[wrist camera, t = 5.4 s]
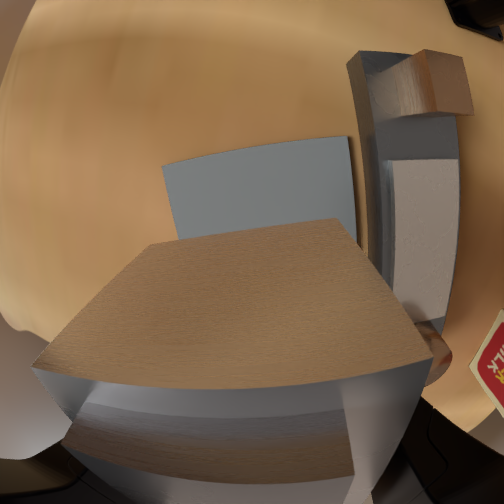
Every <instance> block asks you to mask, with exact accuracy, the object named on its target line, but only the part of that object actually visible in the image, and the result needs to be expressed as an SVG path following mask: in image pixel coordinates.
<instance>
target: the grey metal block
mask: <svg viewBox="0 0 504 504" xmlns="http://www.w3.org/2000/svg"><path fill="white" fill-rule="evenodd" d="M433 359H434V356H433V354H432V352H431V351H430V349H429V347H428V346H427V344H426V343H425V341H424V339H423V338H422V336H421V334H420V333H419V331H418V330H417V328H416V326H415V325H414V323H413V322H412V320H411V319H410V317H409V316H408V314H407V313H406V311H405V310H404V308H403V307H402V305H401V304H400V302H399V301H398V299H397V298H396V296H395V295H394V293H393V292H392V290H391V289H390V288H389V286H388V285H387V283H386V282H385V281H384V279H383V278H382V276H381V275H380V274H379V272H378V271H377V269H376V268H375V267H374V265H373V264H372V263H371V261H370V260H369V259H368V257H367V256H366V255H365V253H364V252H363V251H362V249H361V248H360V247H359V245H358V244H357V243H356V242H355V240H354V239H353V238H352V236H351V235H350V234H349V233H348V231H347V230H346V229H345V228H344V226H343V225H342V224H341V223H340V221H339V220H338V219H337V218H328V219H321V220H313V221H305V222H298V223H290V224H283V225H276V226H268V227H261V228H254V229H247V230H241V231H234V232H227V233H220V234H214V235H207V236H201V237H194V238H188V239H182V240H176V241H169V242H163V243H157V244H151V245H149V246H148V247H147V248H146V249H145V250H143V251H142V252H141V253H140V254H139V255H138V256H137V257H136V258H135V259H134V260H132V261H131V262H130V263H129V264H128V265H127V266H126V267H125V268H124V269H123V270H122V271H121V272H120V273H119V274H117V275H116V276H115V277H114V278H113V279H112V280H111V281H110V282H109V283H108V284H107V285H106V286H105V287H104V288H103V289H102V290H101V291H100V292H99V293H98V294H97V295H96V296H95V297H94V298H93V299H92V300H91V301H90V302H89V303H88V304H87V305H86V306H85V307H84V308H83V309H82V310H81V311H80V312H79V313H78V314H77V315H76V316H75V317H74V318H73V319H72V320H71V321H70V322H69V323H68V325H67V326H66V327H65V328H64V329H63V330H62V331H61V332H60V333H59V334H58V335H57V336H56V337H55V339H54V340H53V341H52V342H51V343H50V345H48V346H47V348H46V349H45V350H44V351H43V352H42V353H41V354H40V356H39V357H38V358H37V359H36V360H35V361H34V362H33V364H32V365H31V366H30V367H31V369H32V370H33V372H34V373H35V375H36V376H37V378H38V379H39V380H40V382H41V383H42V384H43V386H44V387H45V388H46V390H47V391H48V393H49V394H50V395H51V397H52V398H53V399H54V400H55V402H56V403H57V404H58V405H59V407H60V408H61V409H62V410H63V411H64V413H65V414H66V415H67V416H68V417H69V419H70V420H71V421H72V422H73V423H72V425H71V426H70V428H69V430H68V431H67V433H66V435H65V437H64V438H63V440H62V442H61V445H62V446H63V447H64V448H65V449H66V450H68V451H69V452H70V453H71V454H72V455H73V456H74V457H75V458H76V459H78V460H79V461H80V462H81V463H82V464H83V465H85V466H86V467H87V468H88V469H89V470H91V471H92V472H93V473H94V474H96V475H97V476H98V477H100V478H101V479H102V480H104V481H105V482H106V483H108V484H109V485H110V486H112V487H113V488H115V489H116V490H117V491H119V492H120V493H122V494H123V495H125V496H126V497H128V498H129V499H131V500H132V501H134V502H136V503H137V504H363V503H364V501H365V500H366V498H367V497H368V495H369V494H370V492H371V491H372V489H373V488H374V486H375V485H376V483H377V482H378V480H379V478H380V477H381V475H382V474H383V472H384V470H385V469H386V467H387V465H388V463H389V462H390V460H391V458H392V456H393V454H394V452H395V451H396V449H397V447H398V445H399V443H400V441H401V439H402V437H403V435H404V433H405V431H406V429H407V426H408V424H409V422H410V420H411V418H412V415H413V413H414V411H415V408H416V406H417V404H418V401H419V399H420V396H421V394H422V391H423V388H424V386H425V383H426V380H427V377H428V374H429V371H430V368H431V365H432V362H433Z"/></svg>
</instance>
